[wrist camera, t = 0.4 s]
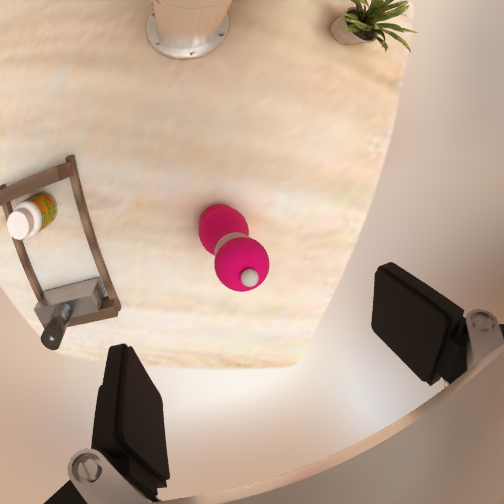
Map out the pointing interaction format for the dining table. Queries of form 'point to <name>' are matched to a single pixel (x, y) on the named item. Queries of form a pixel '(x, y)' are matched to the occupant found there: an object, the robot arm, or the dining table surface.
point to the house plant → (368, 23)
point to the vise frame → (57, 173)
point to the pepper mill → (233, 248)
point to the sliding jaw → (67, 308)
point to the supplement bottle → (31, 216)
